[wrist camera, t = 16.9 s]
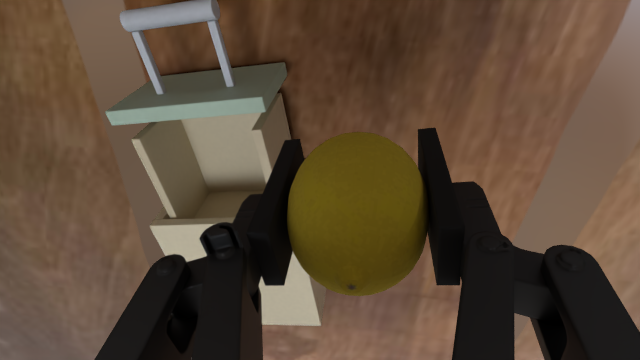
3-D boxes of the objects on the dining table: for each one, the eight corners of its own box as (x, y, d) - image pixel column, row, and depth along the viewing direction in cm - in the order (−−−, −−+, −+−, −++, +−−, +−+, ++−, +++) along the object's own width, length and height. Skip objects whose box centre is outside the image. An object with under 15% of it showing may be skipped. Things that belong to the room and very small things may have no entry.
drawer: (125, 4, 30) (59, 25, 24) (269, -19, 28) (237, -2, 22) (202, 192, 41) (171, 241, 35) (309, 187, 39) (297, 238, 33)
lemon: (437, 121, 16) (480, 253, 10) (393, 210, 19) (402, 353, 13) (319, 87, 16) (281, 198, 9) (294, 183, 19) (253, 315, 13)
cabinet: (192, 167, 41) (148, 226, 33) (312, 160, 38) (296, 221, 30) (230, 258, 49) (202, 323, 41) (330, 257, 46) (321, 326, 38)
